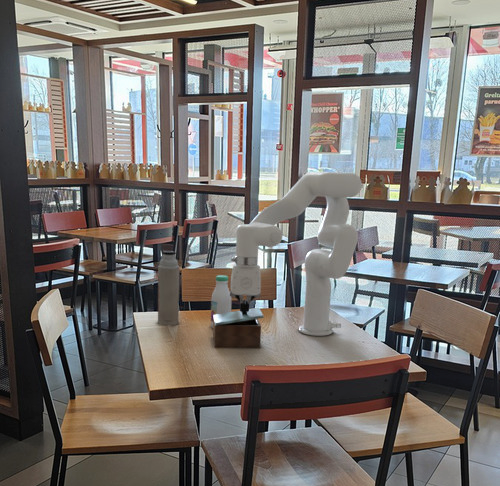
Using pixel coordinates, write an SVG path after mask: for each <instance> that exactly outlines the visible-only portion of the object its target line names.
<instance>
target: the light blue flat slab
mask: <svg viewBox="0 0 500 486" xmlns="http://www.w3.org/2000/svg"><path fill="white" fill-rule="evenodd" d="M213 316H214V321H215V325H221V324H228V323H234V322H240V321H246V320H252V319H258V320H259V319H264V317H265V316H264V313H263V312H262V310H261V308H260V307H253V308H249V312H247V315H245V314H244V315H242V312H240V310H235V311H231V312H228V313H222V314H216V315H213Z"/></svg>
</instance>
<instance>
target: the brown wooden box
mask: <svg viewBox="0 0 500 486" xmlns="http://www.w3.org/2000/svg"><path fill="white" fill-rule="evenodd" d="M261 338H262V325H261V323H260V321H259V318H258V319H252V320H246V321H240V322H234V323H228V324H221V325H215V321H214V317H213V328H212V341H213V346H214V349H227V348H228V349H261V340H262V339H261Z"/></svg>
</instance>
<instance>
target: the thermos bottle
mask: <svg viewBox="0 0 500 486" xmlns="http://www.w3.org/2000/svg"><path fill="white" fill-rule="evenodd" d="M176 254H177V253H176V251H173V250H164V251H162V258H161V259H160V260H159V265H158V267H157V272H158V273H157V274H158V275H157V324H158V325H160V326H170V327H171V326H177V325H179V321H180V317H179V316H180V305H179V303H180V302H179V301H180V265H179V262H178V260H177V258H176Z"/></svg>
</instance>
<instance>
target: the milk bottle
mask: <svg viewBox="0 0 500 486" xmlns="http://www.w3.org/2000/svg"><path fill="white" fill-rule="evenodd" d="M215 283H216V284H215V287H214V290H213V291H212V293H211V294H212V295H211V301H210V302H211V303H210V328H211V329H213V317H214V316H213V315H216V314H222V313H228V312H232V297H230V295H229V294H230V291H231V290H229V285H228V283H229V276H228V275H223V274H222V275H221V274H220V275H216V276H215Z"/></svg>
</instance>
